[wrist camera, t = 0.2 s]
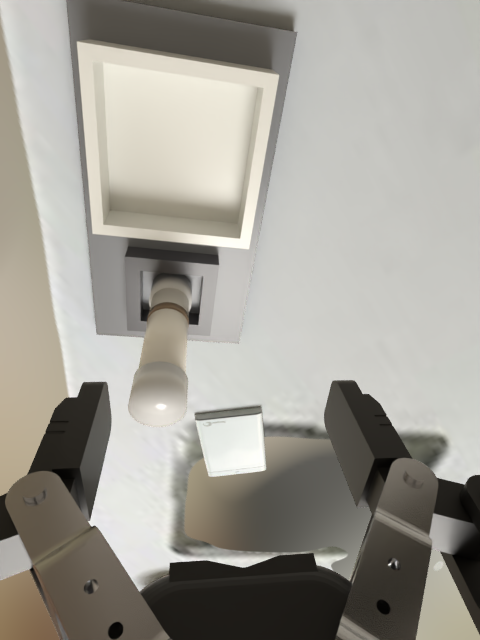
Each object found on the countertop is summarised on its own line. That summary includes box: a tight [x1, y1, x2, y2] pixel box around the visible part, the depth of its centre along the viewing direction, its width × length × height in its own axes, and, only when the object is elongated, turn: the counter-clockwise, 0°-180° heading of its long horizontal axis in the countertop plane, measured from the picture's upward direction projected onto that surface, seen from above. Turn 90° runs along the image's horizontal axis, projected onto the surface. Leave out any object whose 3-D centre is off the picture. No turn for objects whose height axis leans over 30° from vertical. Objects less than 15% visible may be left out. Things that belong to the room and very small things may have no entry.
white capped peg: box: [128, 273, 192, 427], centre depth 30 cm, size 4×4×14 cm
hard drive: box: [195, 407, 266, 477], centre depth 52 cm, size 2×8×12 cm
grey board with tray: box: [66, 0, 297, 344], centre depth 31 cm, size 26×14×4 cm, turn 172°
